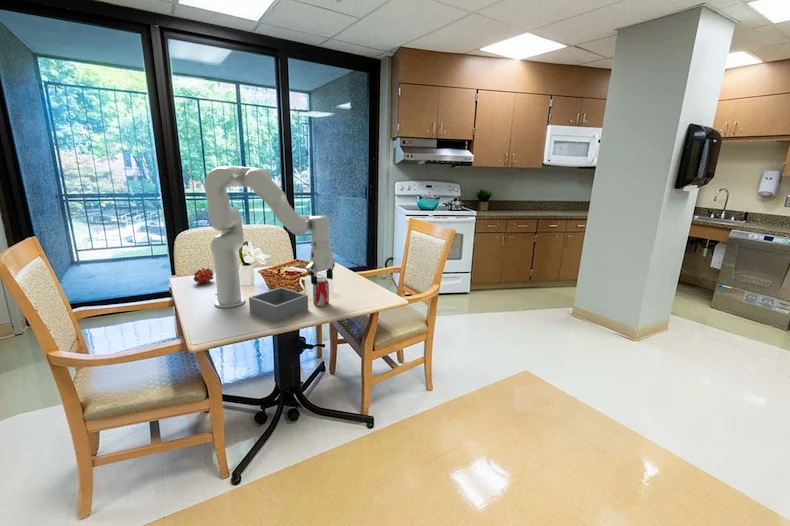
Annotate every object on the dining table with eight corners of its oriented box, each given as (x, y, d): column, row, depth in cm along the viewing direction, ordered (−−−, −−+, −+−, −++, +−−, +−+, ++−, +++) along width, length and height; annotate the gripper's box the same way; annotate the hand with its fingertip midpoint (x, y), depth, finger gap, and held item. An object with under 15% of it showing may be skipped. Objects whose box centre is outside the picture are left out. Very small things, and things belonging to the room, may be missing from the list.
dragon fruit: (214, 282, 196) (198, 292, 185) (201, 272, 195) (185, 282, 185) (220, 271, 192) (204, 281, 181) (207, 261, 192) (190, 270, 181)
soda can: (325, 308, 162) (325, 282, 159) (310, 306, 164) (310, 280, 161) (331, 302, 169) (331, 277, 166) (317, 300, 170) (316, 276, 167)
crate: (250, 312, 154) (248, 297, 153) (282, 301, 168) (281, 287, 166) (276, 323, 145) (275, 306, 144) (308, 310, 159) (307, 295, 157)
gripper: (312, 248, 150) (314, 288, 155) (340, 241, 164) (341, 278, 169) (299, 246, 154) (301, 285, 159) (328, 240, 168) (329, 275, 173)
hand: (322, 281), depth 164 cm, fingers open, 9 cm apart
